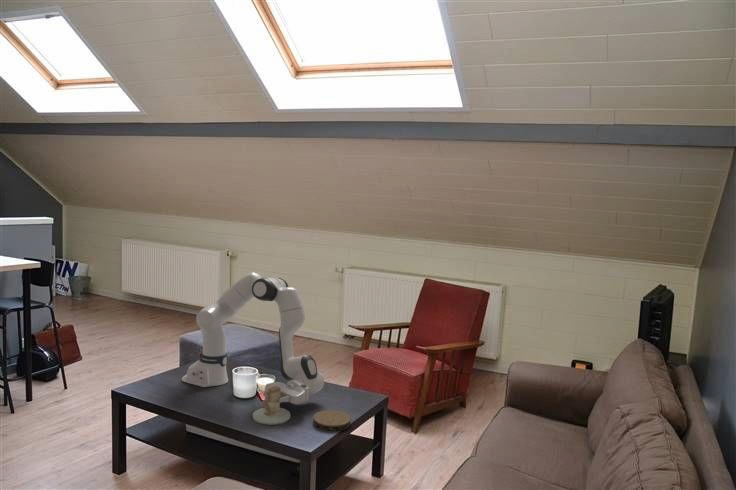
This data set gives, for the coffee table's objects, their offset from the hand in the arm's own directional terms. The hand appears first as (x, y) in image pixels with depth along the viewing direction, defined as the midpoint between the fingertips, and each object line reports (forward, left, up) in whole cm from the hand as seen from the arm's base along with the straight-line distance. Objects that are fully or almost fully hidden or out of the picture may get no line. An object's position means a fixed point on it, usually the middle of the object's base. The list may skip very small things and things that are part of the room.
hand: (271, 397), depth 255 cm
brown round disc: (+26, +5, -10) cm, 28 cm away
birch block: (0, +1, -8) cm, 8 cm away
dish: (0, +1, -9) cm, 9 cm away
